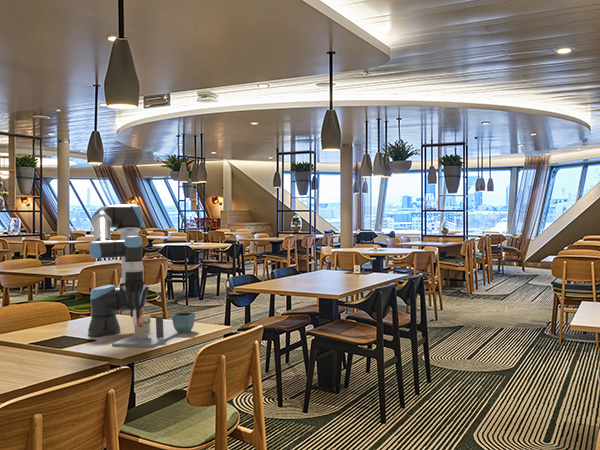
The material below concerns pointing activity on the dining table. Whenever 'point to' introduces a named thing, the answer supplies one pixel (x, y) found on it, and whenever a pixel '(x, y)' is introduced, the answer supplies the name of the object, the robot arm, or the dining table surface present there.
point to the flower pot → (183, 322)
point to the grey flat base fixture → (146, 337)
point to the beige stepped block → (143, 324)
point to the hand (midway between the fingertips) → (135, 324)
